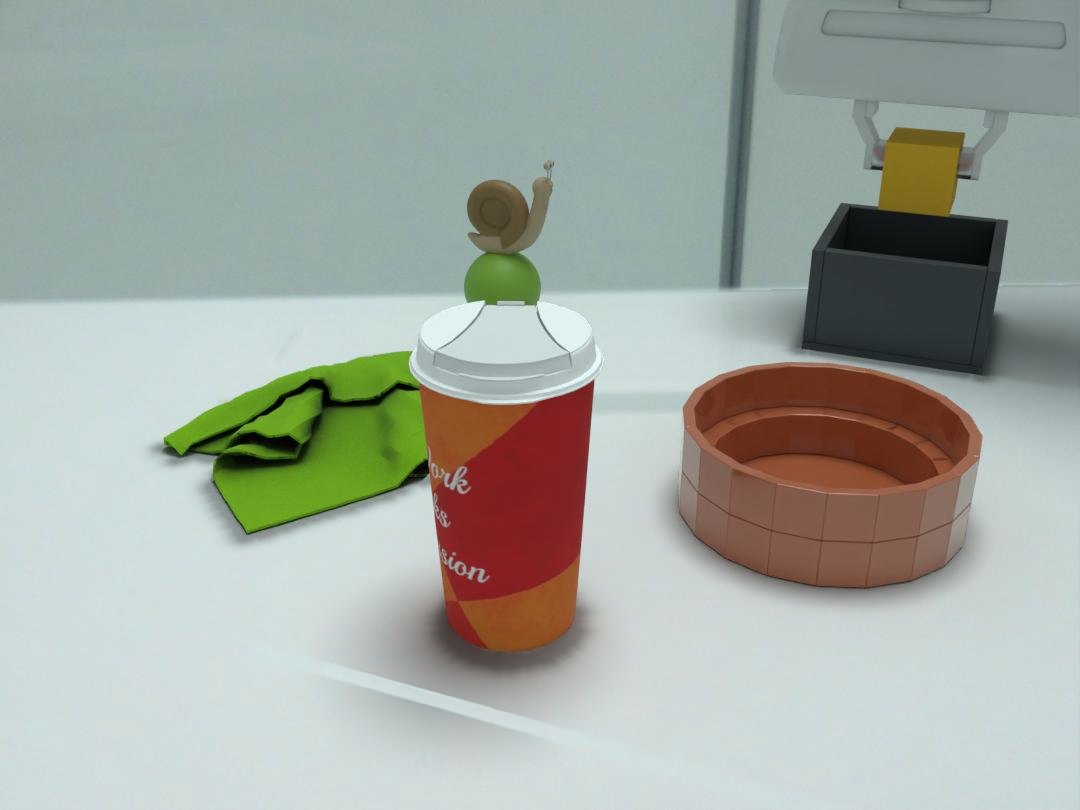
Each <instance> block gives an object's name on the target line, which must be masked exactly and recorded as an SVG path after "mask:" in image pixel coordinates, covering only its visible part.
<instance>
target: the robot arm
mask: <svg viewBox="0 0 1080 810" xmlns="http://www.w3.org/2000/svg"><path fill="white" fill-rule="evenodd" d="M772 69H773V70H772V78H773V81H774V82H775V84H776V86H777V87H778V89H779V91H780V92H781V93H783V94H784V95H794V96H805V97H817V98H819V97H820V98H828V99H829V98H830V99H831V98H832V99H840V100H841V99H843V100H853V108H852V119H853V121H854V124H855V126H856V128H857V131H858V133H859V135H860V137H861V139H862V141H863V144H865V150H864V157H863V163H862V164H863V166H862V168H863V170H869V171H881V172H882V171H883V164H884V156H885V148H886V142H887V140H888V139H884V138H881V137H880V136H879V133H878V131H877V128H876V126H875V123H874V121H873V118H874V117H875V116H876V114H877V113H878V112H879V107H880V103H892V104H893V103H894V104H903V105H918V106H927V107H929V106H930V107H942V108H952V109H953V108H954V109H964V110H965V109H966V110H980V111H984V112H985V113H984V118H983V123H982V126H983V128H985V129H987V130H986V132H984V134H983V135H982V136H981V138H980V139H979V140H978V141H977V143H976V144H975V145H974V147H972V146H963V147H962V148H961V151H960V154H959V160H958V168H957V173H956V178H958V180H959V179H960V180H969V181H977V182H978V181H979V179H980V175H981V171H982V170H981V169H982V164H983V159H984V155H986V154H987V153H988V152H989V151H990V149H991V148H992V147H993V146H994V144H995V143H996V142H997V141H998V140H999V139H1000V137H1002V135H1003V134H1004V133H1005V132H1006V131H1007V126H1008V121H1009V115H1010V113H1014V114H1015V113H1016V114H1028V115H1040V116H1053V117H1066V118H1077V119H1080V0H788V1H787V3H786V5H785V8H784V13H783V15H782V21H781V23H780V28H779V32H778V38H777V43H776V47H775V53H774V60H773V68H772Z"/></svg>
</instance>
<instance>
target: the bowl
mask: <svg viewBox="0 0 1080 810" xmlns="http://www.w3.org/2000/svg"><path fill="white" fill-rule="evenodd" d="M983 439H984V437H983V434H982V432H981V431H980V429H979V428H978V426H977V424H976V422H975V421H974V419H973V417H972V415H970V414H969V413H968V412H967V411H965V410H964V409H963V408H962V407H961V406H959V405H958V404H957V403H955V402H954V401H952V400H951V399H950V398H949V397H947V396H945V395H944V394H942V393H939V392H938V391H935V390H933V389H931V388H929V387H926V386H925V385H922V384H920V383H919V382H916V381H914V380H911V379H908V378H906V377H901V376H897V375H895V374H891V373H887V372H884V371H881V370H876V369H872V368H867V367H861V366H853V365H846V364H839V363H833V362H814V361H813V362H811V361H809V362H807V361H782V362H774V363H764V364H756V365H748V366H745V367H741V368H738V369H734V370H731V371H726V372H723V373H720V374H718V375H715V376H714V377H712V378H711V379H709V380H707V381H706V382H703V383H702V384H701V385H699V386H698V387H695V388H694V389H693V391H692V392H691V394H690V395H689V397H688V398H687V400H686V401H685V403H684V405H683V406H682V411H681V427H680V442H679V443H680V445H679V461H678V462H679V463H678V478H677V499H678V512H679V515H681V517H682V518H683V520H684V521H685V523H686V525H687V526H688V527H689V528H690V530H691V531H692V533H693V535H695V537H696V538H697V539H698V540H700V541H702V543H704V544H706V545H707V546H708V547H710V548H711V549H712V550H713V551H715V552H716V553H718V554H719V555H721V556H722V557H723V558H725V559H726V560H730V561H732V562H734V563H736V564H739V565H740V566H744V567H745V568H748V569H751V570H752V571H755V572H758V573H760V574H762V575H764V576H769V577H774V578H778V579H782V580H788V581H792V582H797V583H800V584H801V583H802V584H805V585H810V586H818V587H840V588H841V587H842V588H873V587H880V586H886V585H892V584H899V583H904V582H910V581H914V580H916V579H918V578H921V577H923V576H926V575H927V574H929V573H932V572H934V571H936V570H939V569H941V568H943V567H945V566H946V565H947V564H948V563H949V562H950V560H952V559H953V557H954V556H956V554H957V553H958V552H959V551H960V550H961V549H962V548H963V547H964V544H965V539H966V535H967V528H968V523H969V518H970V513H971V508H972V501H973V497H974V492H975V486H976V482H977V475H978V470H979V464H980V461H981V460H980V459H981V454H982V453H981V452H982V446H983Z"/></svg>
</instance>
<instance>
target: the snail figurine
mask: <svg viewBox="0 0 1080 810" xmlns="http://www.w3.org/2000/svg"><path fill="white" fill-rule="evenodd" d="M554 166H555V162H554V160H553V159H547V161H545V162H544V163H543V167H542V168H543V169H544V170H545V171H546V173H547V174H546V175H547V176H539V177H537V178H535V180H533V182H532V187H531V188H532V193H533V199H532V203H531V207H530V209H529V205H528V202H527V199H526V197H525V196H524V195H523V193H522V192H521V190H519V189H518V188H517V187H516V186H515V185H513V184H511V183H510V182H508V181H505V180H502V179H487V180H485V181H482V182H481V183H478V184H477V185H476V186H475V187H474V188H473V189H472V191H470V194H469V196H468V198H467V203H466V213H467V219H468V221H469V222H470V224H471V225H472V226H473V228H474V229H475V230H476V231H477V232H474V231H470V232H467V238H468V239H469V240H470V242H471V243H472V244H473V245H474V246H475V247H476V248H477V249H479V250H480V251H482V252H484V253H482V254H480V255H479V256H478V257H477V258H476V259H475V260H474V261H473V262H472V263H471V264H470V266H469V267H468V269H467V271H466V275H465V276H464V281H463V292H464V298H465V301H466V303H471V302H477V301H484V300H485V306H486V305H497V301H524V302H525V305H527V306H535V308H537V301H540V298H541V293H542V292H541V291H542V282H541V278H540V277H541V276H540V275H539V272H538V270H537V268H536V266H535V265H534V263H533V262H532V261H531V260H530V259H529V258H528V257H527V256H525V254H522V253H521V252H523V251H526V250H527V249H529V248H530V247H532V246H533V245H534V244H535V243H536V242H537V240H538V239H539V237H540V235H541V233H542V231H543V228H544V225H545V221H546V218H547V214H548V210H549V203H550V199H551V196H552V194H553V187H554V183H553V181H552V179H551V178H552V169H553V167H554ZM549 171H550V172H549Z"/></svg>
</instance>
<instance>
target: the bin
mask: <svg viewBox="0 0 1080 810" xmlns="http://www.w3.org/2000/svg"><path fill="white" fill-rule="evenodd" d="M1008 227H1009V219H1003V218H1002V219H1001V218H991V217H985V216H984V217H983V216H973V215H965V214H955V213H950V214H949V217H945V216H936V215H926V214H917V213H907V212H898V211H888V210H879V209H878V205H865V204H858V203H847V202H840V203H839V205H838V207H837V208H836V210H835V212H834V213H833V215H832V217H831V218H830V220H829V222H828V223H827V225H826V226H825V228H824V230H823V231H822V233H821V234H820V237H818V239H817V241H816V243H815V245H814V247H813V248H812V249H811V256H810V257H811V258H810V267H809V275H808V276H809V277H808V287H807V296H806V303H805V313H804V314H805V315H804V323H803V334H802V341H801V342H802V343H801V350H806V351H814V352H819V353H827V354H834V355H840V356H847V357H854V358H861V359H866V360H867V359H868V360H874V361H880V362H888V363H893V364H894V363H895V364H900V365H907V366H914V367H923V368H929V369H937V370H941V371H948V372H956V373H962V374H969V375H976V376H983V372H984V367H985V362H986V357H987V356H986V355H987V351H988V345H989V340H990V335H991V328H992V324H993V319H994V314H995V313H994V312H995V308H996V302H997V296H998V291H999V285H1000V280H1001V274H1002V269H1003V261H1004V260H1003V259H1004V254H1005V248H1006V240H1007V234H1008Z"/></svg>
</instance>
